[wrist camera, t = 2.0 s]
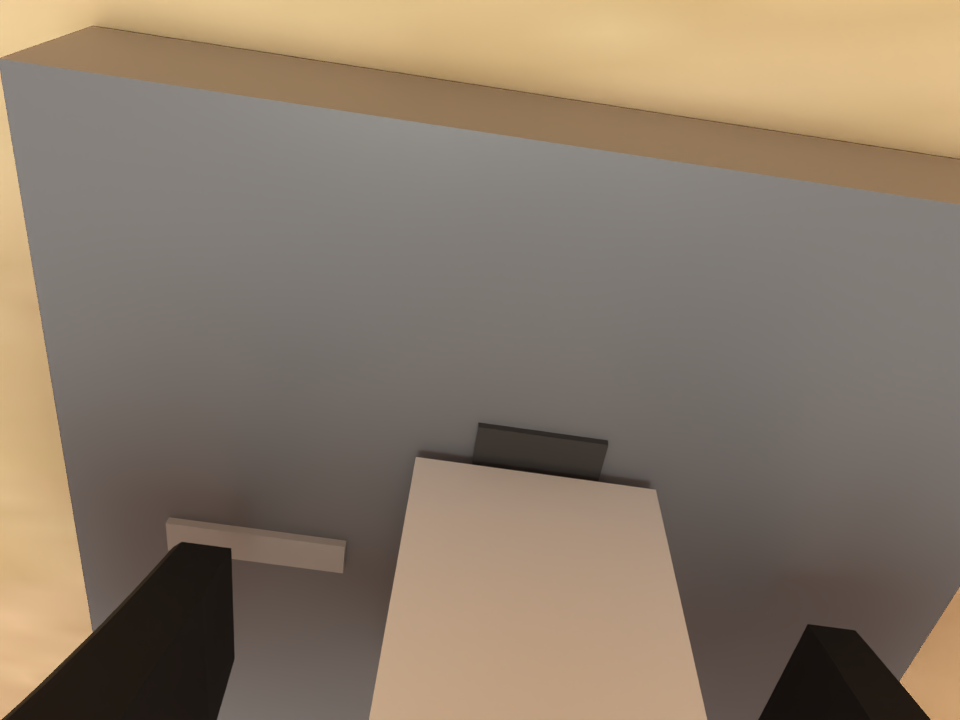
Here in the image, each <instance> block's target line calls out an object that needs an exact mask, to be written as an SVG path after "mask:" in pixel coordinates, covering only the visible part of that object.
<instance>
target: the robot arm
mask: <svg viewBox="0 0 960 720" xmlns="http://www.w3.org/2000/svg"><path fill="white" fill-rule="evenodd" d="M234 659H235V653H234V619H233V586H232V552H231V548H226V547H218V546H210V545H203V544H195V543H188V542H180V543H179V544H177V545H176V546H174V547H173V548H172V549H171V550H170V551H169V552H168V553H167V554H166V555H165V556H164V558H163V559H162V560H161V561H160V562H159V563H158V564H157V565H156V566H155V568H154V569H153V570H152V571H151V572H150V573H149V574H148V575H147V576H146V577H145V578H144V579H143V581H142V582H141V583H140V584H139V585H138V586H137V587H136V588H135V589H134V590H133V591H132V592H131V593H130V595H129V596H128V597H127V598H126V599H125V600H124V601H123V602H122V603H121V604H120V605H119V606H118V607H117V608H116V609H115V610H114V611H113V612H112V613H111V614H110V615H109V616H108V617H107V618H106V620H105V621H104V622H103V623H102V624H101V625H100V626H99V627H98V628H97V629H96V630H95V631H94V632H93V633H92V634H91V635H90V636H89V637H88V638H87V639H86V640H85V641H84V642H83V643H82V644H81V645H80V646H79V647H78V648H77V649H76V650H75V651H74V652H73V653H72V654H71V655H70V656H68V657H67V658H66V659H65V660H64V661H63V662H62V663H61V664H60V665H59V666H58V667H57V668H56V669H55V670H54V671H53V672H52V673H51V674H50V675H49V676H48V677H47V678H46V679H45V680H44V681H43V682H42V683H41V684H40V685H39V686H38V687H37V688H36V689H35V690H34V691H32V692H31V693H30V694H29V695H28V696H27V697H26V698H25V699H24V700H23V701H22V702H21V703H20V704H18V705H17V706H16V707H15V708H14V709H13V710H12V711H11V712H10V713H8V714H7V715H6V716H5V717H4V718H3V719H2V720H217V718H218V714H219V711H220V708H221V704H222V701H223V697H224V694H225V691H226V687H227V684H228V680H229V677H230V673H231V670H232V666H233V663H234ZM758 720H930V718H929V717H928V716H927V715H926V714H925V712H924V711H923V710H922V709H921V708H920V706H919V705H918V704H917V703H916V702H915V700H914V699H913V698H912V697H911V696H910V694H909V693H908V692H907V691H906V689H905V688H904V687H903V686H902V685H901V683H900V682H899V681H898V680H897V679H896V677H895V676H894V675H893V674H892V673H891V671H890V670H889V669H888V668H887V667H886V665H885V664H884V663H883V662H882V661H881V659H880V658H879V657H878V656H877V655H876V654H875V652H874V651H873V650H872V649H871V648H870V647H869V645H868V644H867V643H866V642H865V641H864V640H863V638H862V637H861V636H860V635H859V634H858V633H857V632H856V631H855V630H849V629H842V628H834V627H827V626H819V625H811V624H807V626H806V628H805V630H804V632H803V634H802V636H801V638H800V640H799V642H798V644H797V646H796V648H795V650H794V652H793V653H792V655H791V657H790V659H789V661H788V663H787V665H786V667H785V669H784V671H783V673H782V675H781V677H780V679H779V681H778V683H777V684H776V686H775V688H774V690H773V692H772V694H771V696H770V698H769V700H768V702H767V704H766V706H765V708H764V710H763V712H762V713H761V715H760V717H759V719H758Z"/></svg>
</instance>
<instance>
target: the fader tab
mask: <svg viewBox="0 0 960 720" xmlns="http://www.w3.org/2000/svg"><path fill="white" fill-rule="evenodd" d="M369 720H707V716H706V712H705V707H704V703H703V698H702V694H701V690H700V685H699V681H698V676H697V672H696V667H695V663H694V658H693V654H692V649H691V645H690V640H689V636H688V631H687V627H686V622H685V618H684V613H683V609H682V605H681V600H680V596H679V591H678V587H677V582H676V578H675V573H674V569H673V564H672V560H671V555H670V551H669V546H668V542H667V537H666V533H665V529H664V524H663V520H662V515H661V511H660V506H659V502H658V497H657V493H656V490H655V489H647V488H640V487H633V486H625V485H618V484H611V483H603V482H596V481H589V480H582V479H574V478H567V477H560V476H552V475H545V474H538V473H530V472H523V471H516V470H508V469H501V468H494V467H486V466H479V465H472V464H464V463H457V462H450V461H442V460H435V459H428V458H421V457H416V459H415V464H414V470H413V475H412V481H411V487H410V492H409V498H408V504H407V509H406V515H405V520H404V526H403V532H402V537H401V543H400V548H399V554H398V560H397V565H396V571H395V576H394V582H393V588H392V593H391V599H390V604H389V610H388V616H387V621H386V627H385V632H384V638H383V644H382V649H381V655H380V660H379V666H378V672H377V677H376V683H375V688H374V694H373V700H372V705H371V711H370V716H369Z"/></svg>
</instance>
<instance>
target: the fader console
mask: <svg viewBox="0 0 960 720" xmlns="http://www.w3.org/2000/svg"><path fill="white" fill-rule="evenodd" d="M0 73H1V79H2V85H3V91H4V97H5V103H6V109H7V115H8V121H9V127H10V133H11V139H12V145H13V151H14V157H15V164H16V170H17V176H18V182H19V188H20V194H21V200H22V206H23V212H24V218H25V224H26V230H27V236H28V242H29V248H30V254H31V260H32V267H33V273H34V279H35V285H36V291H37V297H38V303H39V309H40V315H41V321H42V327H43V333H44V339H45V345H46V351H47V357H48V363H49V369H50V376H51V382H52V388H53V394H54V400H55V406H56V412H57V418H58V424H59V430H60V436H61V442H62V448H63V454H64V460H65V466H66V472H67V479H68V485H69V491H70V497H71V503H72V509H73V515H74V521H75V527H76V533H77V539H78V545H79V551H80V557H81V563H82V569H83V575H84V581H85V588H86V594H87V600H88V606H89V612H90V618H91V624H92V630H93V632H94V631H95V630H96V629H97V628H98V627H99V626H100V625H101V624H102V623H103V622H104V621H105V620H106V618H107V617H108V616H109V615H110V614H111V613H112V612H113V611H114V610H115V609H116V608H117V607H118V606H119V605H120V604H121V603H122V602H123V601H124V600H125V599H126V598H127V597H128V596H129V595H130V593H131V592H132V591H133V590H134V589H135V588H136V587H137V586H138V585H139V584H140V583H141V582H142V581H143V579H144V578H145V577H146V576H147V575H148V574H149V573H150V572H151V571H152V570H153V569H154V568H155V566H156V565H157V564H158V563H159V562H160V561H161V560H162V559H163V558H164V556H165V555H166V554H167V553H168V552H169V551H170V550H171V549H172V548H173V547H174V546H176V545H177V544H179V543H180V542H188V543H195V544H203V545H210V546H218V547H226V548H231V552H232V586H233V619H234V653H235V659H234V663H233V666H232V670H231V673H230V677H229V680H228V684H227V687H226V691H225V694H224V697H223V701H222V704H221V708H220V711H219V714H218V718H217V720H369V716H370V711H371V705H372V700H373V694H374V688H375V683H376V677H377V672H378V666H379V660H380V655H381V649H382V644H383V638H384V632H385V627H386V621H387V616H388V610H389V604H390V599H391V593H392V588H393V582H394V576H395V571H396V565H397V560H398V554H399V548H400V543H401V537H402V532H403V526H404V520H405V515H406V509H407V504H408V498H409V492H410V487H411V481H412V475H413V470H414V464H415V459H416V457H421V458H428V459H435V460H442V461H450V462H457V463H464V464H472V465H479V466H486V467H494V468H501V469H508V470H516V471H523V472H530V473H538V474H545V475H552V476H560V477H567V478H574V479H582V480H589V481H596V482H603V483H611V484H618V485H625V486H633V487H640V488H647V489H655V490H656V493H657V497H658V502H659V506H660V511H661V515H662V520H663V524H664V529H665V533H666V537H667V542H668V546H669V551H670V555H671V560H672V564H673V569H674V573H675V578H676V582H677V587H678V591H679V596H680V600H681V605H682V609H683V613H684V618H685V622H686V627H687V631H688V636H689V640H690V645H691V649H692V654H693V658H694V663H695V667H696V672H697V676H698V681H699V685H700V690H701V694H702V698H703V703H704V707H705V712H706V716H707V720H758V719H759V717H760V715H761V713H762V712H763V710H764V708H765V706H766V704H767V702H768V700H769V698H770V696H771V694H772V692H773V690H774V688H775V686H776V684H777V683H778V681H779V679H780V677H781V675H782V673H783V671H784V669H785V667H786V665H787V663H788V661H789V659H790V657H791V655H792V653H793V652H794V650H795V648H796V646H797V644H798V642H799V640H800V638H801V636H802V634H803V632H804V630H805V628H806V626H807V624H811V625H819V626H827V627H834V628H842V629H849V630H855V631H856V632H857V633H858V634H859V635H860V636H861V637H862V638H863V640H864V641H865V642H866V643H867V644H868V645H869V647H870V648H871V649H872V650H873V651H874V652H875V654H876V655H877V656H878V657H879V658H880V659H881V661H882V662H883V663H884V664H885V665H886V667H887V668H888V669H889V670H890V671H891V673H892V674H893V675H894V676H895V677H896V679H897V680H898V681H900V679H901V678H902V676H903V675H904V673H905V671H906V670H907V668H908V667H909V665H910V664H911V662H912V661H913V659H914V657H915V656H916V654H917V653H918V651H919V650H920V648H921V646H922V645H923V643H924V642H925V640H926V639H927V637H928V635H929V634H930V632H931V631H932V629H933V628H934V626H935V625H936V623H937V621H938V620H939V618H940V617H941V615H942V614H943V612H944V610H945V609H946V607H947V606H948V604H949V603H950V601H951V599H952V598H953V596H954V595H955V593H956V592H957V590H958V588H959V587H960V159H953V158H947V157H940V156H934V155H927V154H921V153H914V152H908V151H901V150H895V149H888V148H882V147H875V146H869V145H862V144H856V143H849V142H843V141H836V140H830V139H823V138H817V137H810V136H804V135H797V134H791V133H784V132H778V131H771V130H765V129H758V128H752V127H745V126H739V125H732V124H726V123H719V122H713V121H706V120H700V119H693V118H687V117H680V116H674V115H667V114H661V113H654V112H648V111H641V110H635V109H628V108H622V107H615V106H609V105H602V104H596V103H589V102H583V101H576V100H570V99H563V98H557V97H550V96H544V95H537V94H531V93H524V92H518V91H511V90H505V89H498V88H492V87H485V86H479V85H472V84H466V83H459V82H453V81H446V80H440V79H433V78H427V77H420V76H414V75H407V74H401V73H394V72H388V71H381V70H375V69H368V68H362V67H355V66H349V65H342V64H336V63H329V62H323V61H316V60H310V59H303V58H297V57H290V56H284V55H277V54H271V53H264V52H258V51H251V50H245V49H238V48H232V47H225V46H219V45H212V44H206V43H199V42H193V41H186V40H180V39H173V38H167V37H160V36H154V35H147V34H141V33H134V32H128V31H121V30H115V29H108V28H102V27H95V26H91V27H88V28H85V29H82V30H79V31H76V32H73V33H70V34H68V35H65V36H62V37H59V38H56V39H53V40H50V41H47V42H44V43H42V44H39V45H36V46H33V47H30V48H27V49H24V50H21V51H18V52H16V53H13V54H10V55H7V56H4V57H1V58H0Z"/></svg>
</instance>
